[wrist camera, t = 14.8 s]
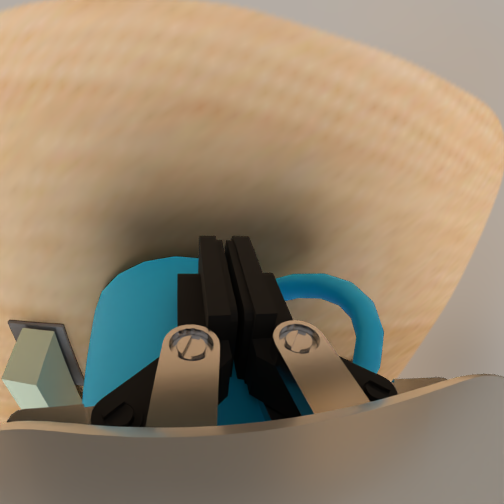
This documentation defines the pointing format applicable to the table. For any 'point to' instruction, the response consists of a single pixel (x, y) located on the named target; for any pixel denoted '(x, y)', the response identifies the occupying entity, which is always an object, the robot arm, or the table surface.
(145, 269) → the mug
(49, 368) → the leg
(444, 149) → the table surface
